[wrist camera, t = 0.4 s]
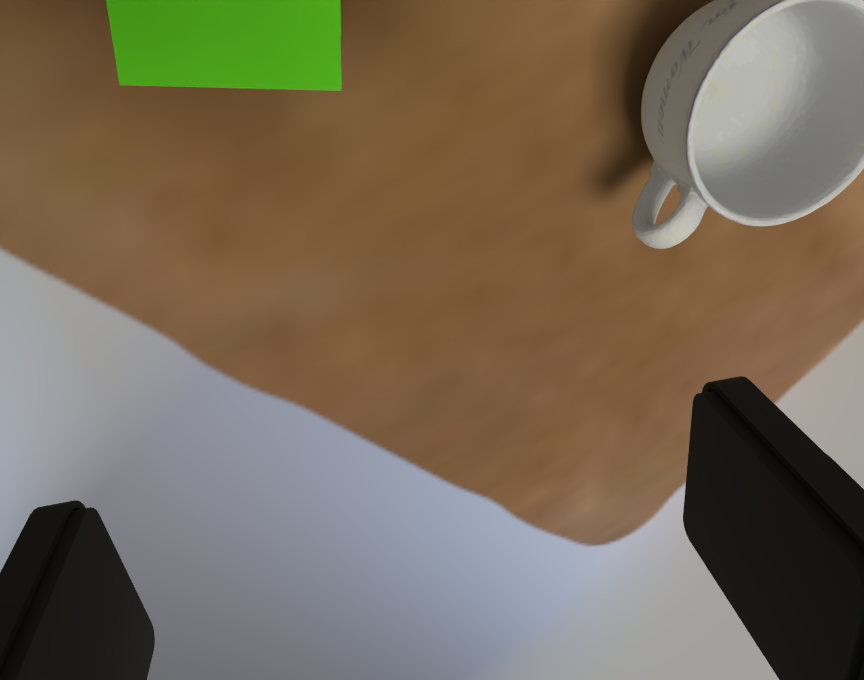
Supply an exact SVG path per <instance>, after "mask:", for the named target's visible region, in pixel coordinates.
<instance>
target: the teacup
mask: <svg viewBox="0 0 864 680" xmlns="http://www.w3.org/2000/svg"><path fill="white" fill-rule="evenodd" d="M641 122H642V130H643V134H644V138H645V141H646V144H647V146H648V149H649V151H650V153H651V155H652V157H653V158H654V163H653V164H652V166H651V169H650V173H649V179H648V180H647V182H646V184H645V186H644V188H643V190H642V192H641V194H640V196H639V198H638V200H637V203H636V205H635V208H634V211H633V215H632V227H633V230H634V232H635V234H636V236H637V237H638V238H639V239H640V240H641V241H643V242H644V243H645V244H646V245H648V246H650V247H653V248H660V249H664V248H669V247H672V246H674V245H677V244H679V243H680V242H682V241H683V240H685V239H686V238H687V237H688V236H689V235H690V234H691V233H692V232H693V231H694V230H695V229H696V227H697V226H698V225H699V223H700V221H701V219H702V216H703V214H704V212H705V209H706V207H707V206H709V207H710V208H711V209H713V210H714V211H716V212H717V213H718V214H720V215H722V216H724V217H726V218H727V219H730V220H732V221H734V222H737V223H740V224H744V225H753V226H772V225H778V224H783V223H786V222H790V221H793V220H796V219H798V218H800V217H803V216H805V215H807V214H809V213H811V212H813V211H815V210H816V209H818V208H819V207H821V206H823V205H824V204H826V203H828V202H829V201H830V200H832V199H833V198H834V197H836V196H837V195H838V194H839V193H840V192H841V191H843V190H844V189H845V188H846V187H847V186H848V185H849V184H850V183H851V182H852V181H853V180H854V179H855V178H856V177H857V176H858V174H859V173H860V172H861V171H862V169H863V168H864V0H714V1H712V2H710V3H708V4H706V5H705V6H703V7H701V8H700V9H698V10H697V11H696V12H694V13H693V14H692V15H690V16H689V17H688V18H687V19H685V20H684V21H683V22H682V23H681V24H680V25H679V26H678V27H677V28H676V29H675V30H674V32H673V33H672V34H671V35H670V37H669V38H668V39H667V40H666V42H665V43H664V45H663V46H662V47H661V49H660V51H659V52H658V54H657V56H656V58H655V60H654V62H653V64H652V66H651V69H650V71H649V74H648V76H647V79H646V82H645V87H644V91H643V96H642V106H641ZM676 184H678V191H679V193H680V195H681V197H680V202H679V205H678V207H677V209H676V210H675V211H674V212H673V213H672V215H671V216H670V217H669V218H667V219H666V220H665V221H663V222H661V223H659V224H657V225H655V222H656V218H657V215H658V213H659V210H660V208H661V206H662V204H663V202H664V200H665V198H666V196H667V194H668V193H669V191H670V190H671V188H672V187H673V185H676Z"/></svg>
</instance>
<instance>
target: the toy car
mask: <svg viewBox="0 0 864 680" xmlns="http://www.w3.org/2000/svg"><path fill="white" fill-rule="evenodd" d="M106 4H107V10H108V16H109V22H110V28H111V35H112V41H113V47H114V53H115V59H116V66H117V72H118V78H119V84H120V85H134V86H173V87H212V88H251V89H290V90H329V91H342V81H341V11H340V0H106Z"/></svg>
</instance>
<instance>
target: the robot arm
mask: <svg viewBox="0 0 864 680" xmlns="http://www.w3.org/2000/svg"><path fill="white" fill-rule="evenodd" d="M683 522H684V527H685V531H686V534H687V536H688V538H689V540H690V542H691V543H692V545H693V546H694V548H695V549H696V551H697V553H698V554H699V556H700V557H701V559H702V560H703V562H704V563H705V565H706V567H707V568H708V570H709V571H710V573H711V574H712V576H713V577H714V579H715V580H716V582H717V583H718V585H719V587H720V588H721V590H722V591H723V592H724V594H725V596H726V598H727V599H728V601H729V602H730V604H731V605H732V607H733V608H734V610H735V611H736V613H737V615H738V616H739V618H740V619H741V621H742V622H743V624H744V625H745V627H746V628H747V630H748V632H749V633H750V634H751V636H752V638H753V639H754V641H755V642H756V644H757V646H758V647H759V649H760V650H761V652H762V653H763V655H764V656H765V658H766V659H767V661H768V662H769V664H770V666H771V667H772V669H773V670H774V672H775V673H776V675H777V677H778V678H779V680H864V489H863V488H861V486H859V484H857V483H856V482H855V481H854V480H853V479H852V478H851V477H850V476H849V475H848V474H847V473H846V472H845V471H844V470H843V469H842V468H841V467H840V466H839V465H838V464H837V463H836V462H835V461H834V460H832V458H830V457H829V456H828V455H827V454H825V453H824V452H823V451H822V450H821V449H820V448H819V447H818V446H817V445H816V444H815V443H814V442H813V441H812V440H811V439H810V438H809V437H808V436H807V435H806V434H805V433H804V432H802V430H801V429H799V428H798V427H797V426H796V425H795V424H794V423H793V422H792V421H791V420H790V419H789V418H788V417H787V416H786V415H785V414H784V413H783V412H782V411H781V410H780V409H779V408H778V407H777V406H776V405H775V404H774V403H773V402H772V401H770V400H769V399H768V398H767V397H766V396H765V395H764V394H763V393H762V392H761V391H760V390H759V389H758V388H757V387H756V386H755V385H754V384H753V383H752V382H751V381H750V380H748V379H747V378H746V377H741V376H740V377H735V378H729V379H724V380H718V381H713V382H708V383H706V384H705V386H704V387H703V390H702V393H699V394H696V395H695V397H694V400H693V408H692V420H691V431H690V443H689V455H688V466H687V478H686V489H685V502H684V513H683ZM154 640H155V638H154V630H153V626H152V623H151V621H150V619H149V617H148V614H147V612H146V610H145V608H144V606H143V604H142V602H141V600H140V598H139V596H138V594H137V592H136V590H135V588H134V585H133V583H132V581H131V579H130V577H129V575H128V573H127V571H126V569H125V567H124V565H123V563H122V561H121V559H120V557H119V554H118V552H117V550H116V548H115V546H114V544H113V542H112V540H111V538H110V536H109V534H108V532H107V530H106V528H105V526H104V524H103V521H102V520H101V517H100V515H99V513H98V512H97V510H96V509H94V508H85V506H84V505H83V504H82V503H81V502H79V501H70V502H65V503H59V504H54V505H49V506H43V507H38V508H36V509H35V510H34V511H33V512H32V513H31V514H30V516H29V518H28V520H27V522H26V524H25V526H24V528H23V530H22V532H21V534H20V536H19V538H18V539H17V541H16V544H15V545H14V547H13V549H12V551H11V553H10V555H9V557H8V559H7V561H6V563H5V565H4V567H3V569H2V571H1V572H0V680H147V676H148V672H149V667H150V663H151V659H152V655H153V650H154Z"/></svg>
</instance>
